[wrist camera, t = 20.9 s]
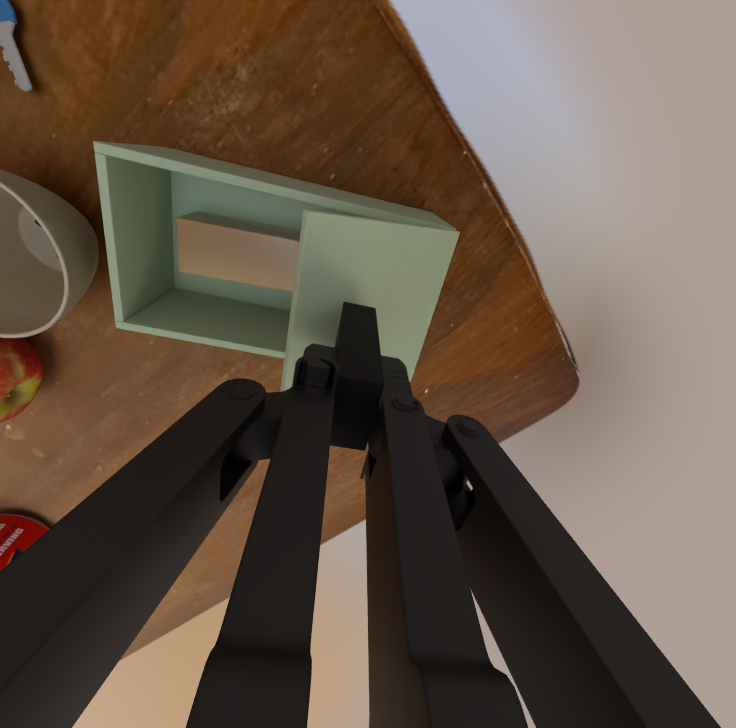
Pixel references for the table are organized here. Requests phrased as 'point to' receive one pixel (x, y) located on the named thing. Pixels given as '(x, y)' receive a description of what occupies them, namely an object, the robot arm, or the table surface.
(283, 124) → the table surface
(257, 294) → the carton
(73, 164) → the table surface
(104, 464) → the table surface
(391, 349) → the flap
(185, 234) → the birch block
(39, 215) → the flower pot
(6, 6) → the key chain
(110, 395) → the table surface
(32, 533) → the soda can
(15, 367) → the apple
